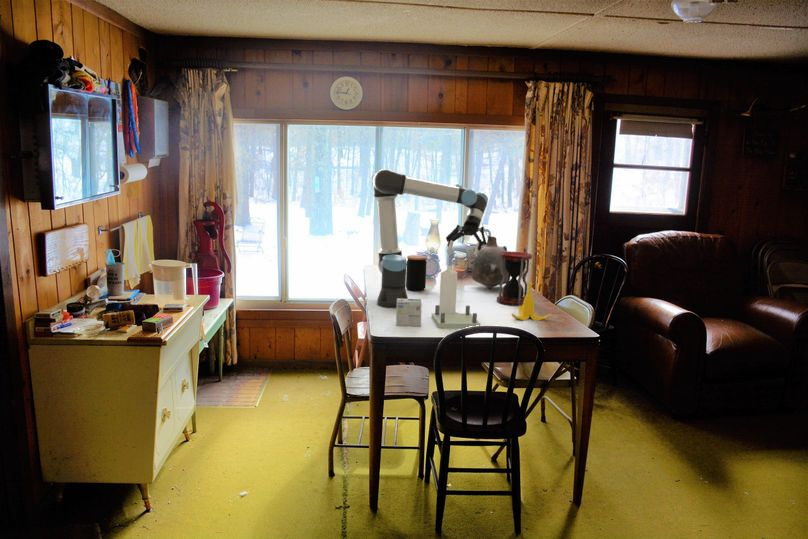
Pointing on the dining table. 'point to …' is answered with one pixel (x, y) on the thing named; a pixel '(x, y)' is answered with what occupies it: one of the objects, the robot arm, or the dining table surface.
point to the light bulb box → (408, 312)
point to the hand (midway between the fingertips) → (461, 253)
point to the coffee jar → (416, 273)
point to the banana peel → (528, 307)
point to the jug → (489, 265)
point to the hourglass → (513, 278)
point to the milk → (448, 291)
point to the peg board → (454, 319)
